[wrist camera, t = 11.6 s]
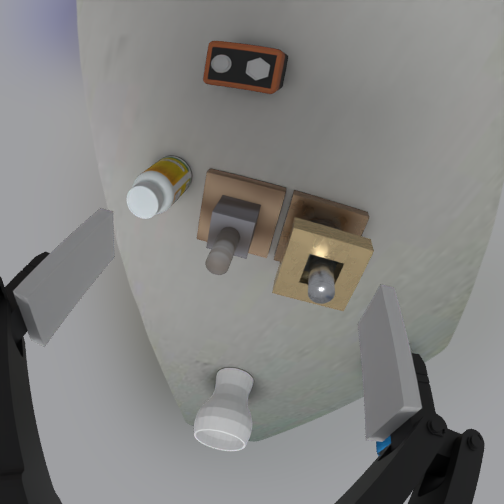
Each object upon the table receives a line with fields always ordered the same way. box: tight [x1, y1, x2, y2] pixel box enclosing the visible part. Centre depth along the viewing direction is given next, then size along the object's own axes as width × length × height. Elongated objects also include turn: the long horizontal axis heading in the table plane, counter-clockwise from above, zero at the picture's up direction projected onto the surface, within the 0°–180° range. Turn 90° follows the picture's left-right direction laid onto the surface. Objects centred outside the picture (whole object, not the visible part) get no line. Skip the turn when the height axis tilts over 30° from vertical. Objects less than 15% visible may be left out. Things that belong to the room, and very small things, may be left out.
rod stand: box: [197, 169, 286, 275], centre depth 38 cm, size 10×10×12 cm
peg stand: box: [274, 190, 369, 304], centre depth 38 cm, size 10×10×12 cm
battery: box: [203, 41, 288, 94], centre depth 29 cm, size 4×7×10 cm, turn 80°
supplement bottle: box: [127, 156, 192, 219], centre depth 38 cm, size 5×5×10 cm
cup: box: [194, 368, 254, 451], centre depth 58 cm, size 11×11×15 cm
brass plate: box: [272, 217, 374, 311], centre depth 37 cm, size 9×9×2 cm
